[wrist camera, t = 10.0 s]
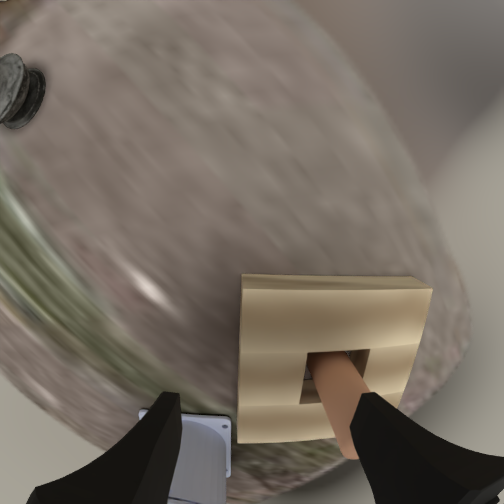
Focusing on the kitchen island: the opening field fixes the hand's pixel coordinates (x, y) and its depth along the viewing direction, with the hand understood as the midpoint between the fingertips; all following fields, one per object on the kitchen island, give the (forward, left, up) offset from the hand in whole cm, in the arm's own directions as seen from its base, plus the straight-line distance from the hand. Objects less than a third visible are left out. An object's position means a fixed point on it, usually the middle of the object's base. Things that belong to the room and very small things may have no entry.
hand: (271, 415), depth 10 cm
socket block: (-4, -5, -10) cm, 12 cm away
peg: (-4, -5, -10) cm, 12 cm away
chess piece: (+16, +20, -11) cm, 28 cm away
